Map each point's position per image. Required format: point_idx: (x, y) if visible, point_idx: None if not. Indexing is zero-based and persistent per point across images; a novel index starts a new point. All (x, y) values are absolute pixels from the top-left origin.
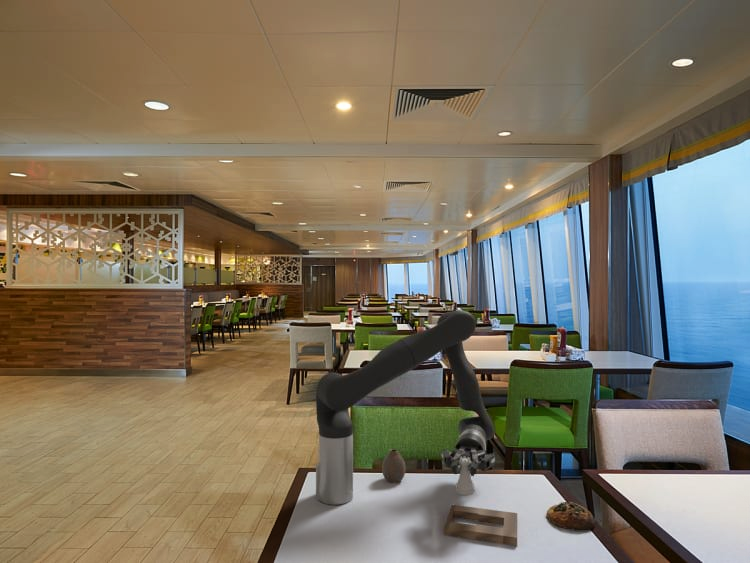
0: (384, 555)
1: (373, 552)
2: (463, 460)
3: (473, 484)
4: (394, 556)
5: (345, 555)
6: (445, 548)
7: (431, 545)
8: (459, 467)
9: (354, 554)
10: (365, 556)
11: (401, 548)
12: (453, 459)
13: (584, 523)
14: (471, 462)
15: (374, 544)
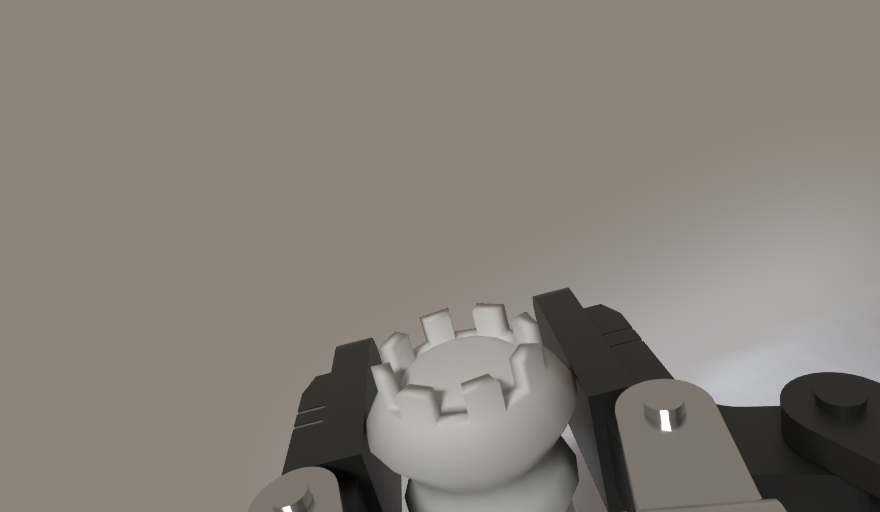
0: (763, 350)
1: (816, 342)
2: (470, 337)
3: None
4: (726, 363)
5: (874, 293)
6: (581, 498)
7: None
8: (566, 447)
9: (857, 308)
10: (812, 319)
11: (751, 406)
12: (690, 397)
13: None
14: (368, 417)
15: (875, 371)
